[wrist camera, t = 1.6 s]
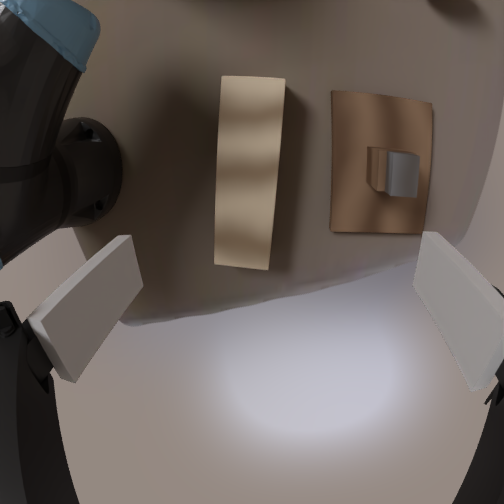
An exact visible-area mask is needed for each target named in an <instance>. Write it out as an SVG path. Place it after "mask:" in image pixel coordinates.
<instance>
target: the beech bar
mask: <svg viewBox="0 0 504 504" xmlns="http://www.w3.org/2000/svg"><path fill="white" fill-rule="evenodd" d="M285 85H286V84H285V79H282V78H268V77H250V76H222V80H221V94H220V110H219V127H218V147H217V170H216V199H215V244H214V264H218V265H227V266H235V267H244V268H253V269H262V270H268V267H269V260H270V252H271V243H272V233H273V223H274V213H275V202H276V192H277V181H278V170H279V159H280V147H281V136H282V124H283V111H284V99H285Z"/></svg>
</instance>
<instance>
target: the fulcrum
mask: <svg viewBox="0 0 504 504" xmlns="http://www.w3.org/2000/svg"><path fill="white" fill-rule="evenodd" d="M331 117H332V170H331V204H330V224H329V228H330V231H331V232H380V233H414V234H422V232H423V225H424V219H425V212H426V205H427V197H428V188H429V177H430V165H431V148H432V103H427V102H422V101H417V100H411V99H406V98H399V97H393V96H386V95H378V94H369V93H360V92H349V91H335V90H332V91H331Z"/></svg>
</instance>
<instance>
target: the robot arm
mask: <svg viewBox="0 0 504 504" xmlns="http://www.w3.org/2000/svg"><path fill="white" fill-rule="evenodd" d="M99 35H100V23H99V20H98V19H97V17H96V16H95V15H94V14H93V13H91V12H90V11H89V10H87V9H86V8H84V7H82V6H81V5H79V4H77V3H75V2H73V1H71V0H0V270H1V269H2V268H3V266H4V265H6V264H7V263H8V262H10V261H11V260H13V259H14V258H15V257H17V256H18V255H19V254H21V253H22V252H24V251H25V250H26V249H28V248H29V247H31V246H32V245H34V244H35V243H36V242H38V241H39V240H41V239H42V238H44V237H45V236H47V235H48V234H50V233H52V232H53V231H55V230H56V229H59V228H68V227H79V226H85V225H88V224H91V223H93V222H95V221H96V220H98V219H99V218H101V217H102V216H104V215H105V214H106V213H107V212H108V211H109V210H110V209H111V208H112V207H113V205H114V203H115V202H116V200H117V197H118V195H119V192H120V188H121V182H122V162H121V157H120V153H119V150H118V147H117V144H116V142H115V140H114V138H113V137H112V135H111V134H110V132H109V131H108V130H107V129H106V128H105V127H104V126H103V125H102V124H100V123H99V122H97V121H95V120H93V119H90V118H84V117H81V118H71V119H66V120H63V119H64V116H65V113H66V111H67V108H68V105H69V103H70V100H71V98H72V95H73V93H74V90H75V88H76V86H77V83H78V81H79V79H80V77H81V75H82V72H83V73H85V71H86V69H87V68H86V64H87V61H88V59H89V57H90V54H91V52H92V50H93V48H94V46H95V44H96V42H97V40H98V37H99ZM143 286H144V285H143V282H142V278H141V274H140V270H139V266H138V262H137V258H136V253H135V249H134V245H133V240H132V236H131V235H118V236H117V237H115V238H114V239H113V240H112V241H111V242H109V243H108V244H107V245H106V246H104V247H103V248H102V249H101V250H100V251H98V252H97V253H96V254H95V255H94V256H93V257H91V258H90V259H89V260H88V261H87V262H86V263H85V264H84V265H82V266H81V267H80V268H79V269H78V270H76V271H75V272H74V273H73V274H72V275H71V276H70V277H69V278H68V279H66V280H65V281H64V282H63V283H62V284H61V285H60V286H59V287H58V288H57V289H56V290H55V291H54V292H53V293H51V294H50V295H49V296H48V297H47V298H46V299H45V300H44V301H43V302H42V303H41V304H40V305H39V306H38V307H37V308H36V309H35V310H34V311H33V312H32V313H31V314H30V315H29V316H28V317H27V319H26V320H25V321H24V322H23V323H21V321H20V320H19V317H18V315H17V313H16V311H15V309H14V307H13V305H12V303H11V302H10V301H3V302H0V504H79V501H78V498H77V495H76V492H75V489H74V485H73V482H72V479H71V475H70V471H69V468H68V464H67V459H66V455H65V451H64V446H63V442H62V437H61V432H60V426H59V420H58V414H57V407H56V399H55V390H54V380H53V378H52V376H51V374H50V371H51V370H52V368H53V367H54V368H55V370H56V371H57V373H58V374H59V376H60V378H61V379H64V380H67V381H70V382H73V383H76V381H77V380H78V378H79V377H80V375H81V374H82V372H83V371H84V369H85V368H86V366H87V365H88V363H89V362H90V360H91V359H92V357H93V356H94V354H95V353H96V351H97V350H98V349H99V347H100V346H101V344H102V343H103V341H104V340H105V338H106V337H107V335H108V334H109V333H110V331H111V330H112V328H113V327H114V326H115V324H116V323H117V321H118V320H119V319H120V317H121V316H122V315H123V313H124V312H125V310H126V309H127V308H128V306H129V305H130V304H131V302H132V301H133V300H134V298H135V297H136V296H137V294H138V293H139V292H140V290H141V289H142V288H143ZM413 287H414V289H415V291H416V292H417V294H418V295H419V297H420V299H421V300H422V302H423V303H424V305H425V306H426V308H427V310H428V312H429V313H430V315H431V317H432V318H433V320H434V322H435V324H436V325H437V327H438V329H439V331H440V332H441V334H442V336H443V338H444V340H445V341H446V343H447V345H448V347H449V349H450V351H451V353H452V355H453V356H454V358H455V360H456V362H457V364H458V366H459V368H460V370H461V372H462V374H463V376H464V378H465V381H466V383H467V385H468V387H469V389H470V391H471V392H473V391H476V390H480V389H483V388H486V387H487V386H488V385H489V383H490V382H491V380H492V379H493V377H494V375H496V377H497V378H498V380H499V382H498V383H497V385H496V386H495V388H494V389H493V391H492V392H491V394H490V395H489V396H488V398H487V399H486V401H485V404H487V403H488V402H489V401H490V400H491V399H492V400H491V404H490V408H489V412H488V416H487V419H486V422H485V426H484V429H483V432H482V435H481V438H480V441H479V444H478V447H477V449H476V452H475V455H474V457H473V460H472V462H471V465H470V467H469V469H468V472H467V474H466V476H465V479H464V481H463V483H462V485H461V487H460V489H459V491H458V493H457V496H456V497H455V500H454V501H453V503H452V504H504V295H503V294H502V293H501V291H500V290H499V289H497V288H496V287H494V286H493V285H491V284H490V283H489V282H488V281H487V280H486V279H485V277H484V276H483V275H482V274H481V273H480V272H479V271H478V270H477V269H476V268H475V267H474V266H473V265H472V264H471V263H470V262H469V261H468V260H467V259H466V258H465V257H463V256H462V255H461V253H459V252H458V251H457V250H456V249H455V248H454V247H453V246H452V245H451V244H450V243H449V242H448V241H447V240H445V239H444V238H443V237H442V236H441V235H440V234H439V233H438V232H423V234H422V240H421V246H420V251H419V257H418V262H417V267H416V271H415V276H414V281H413Z"/></svg>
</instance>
